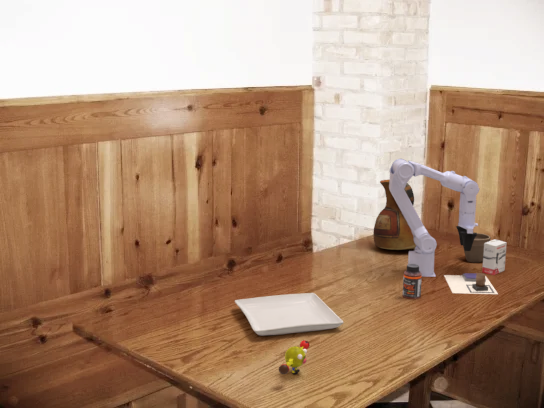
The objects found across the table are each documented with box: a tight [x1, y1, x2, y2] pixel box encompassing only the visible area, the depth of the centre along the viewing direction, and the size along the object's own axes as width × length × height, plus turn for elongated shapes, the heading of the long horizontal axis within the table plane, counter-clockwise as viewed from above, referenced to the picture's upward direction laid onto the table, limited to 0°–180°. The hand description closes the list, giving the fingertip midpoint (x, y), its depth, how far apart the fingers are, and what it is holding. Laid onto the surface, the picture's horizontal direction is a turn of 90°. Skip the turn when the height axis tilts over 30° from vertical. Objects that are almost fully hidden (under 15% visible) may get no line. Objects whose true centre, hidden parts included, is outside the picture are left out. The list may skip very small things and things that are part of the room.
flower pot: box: [462, 232, 492, 264], centre depth 268 cm, size 12×11×10 cm
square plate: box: [234, 292, 344, 336], centre depth 208 cm, size 27×27×4 cm
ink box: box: [481, 239, 507, 276], centre depth 251 cm, size 8×5×12 cm, turn 134°
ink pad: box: [461, 272, 486, 282], centre depth 243 cm, size 7×6×1 cm
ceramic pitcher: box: [372, 179, 416, 251], centre depth 283 cm, size 20×20×30 cm
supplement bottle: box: [402, 263, 423, 300], centre depth 225 cm, size 6×6×11 cm
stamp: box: [472, 272, 488, 291], centre depth 232 cm, size 4×4×5 cm
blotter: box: [443, 274, 499, 295], centre depth 238 cm, size 15×20×1 cm
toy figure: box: [278, 339, 310, 375], centre depth 172 cm, size 18×6×7 cm, turn 158°
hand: (465, 248), depth 250 cm, fingers open, 7 cm apart
